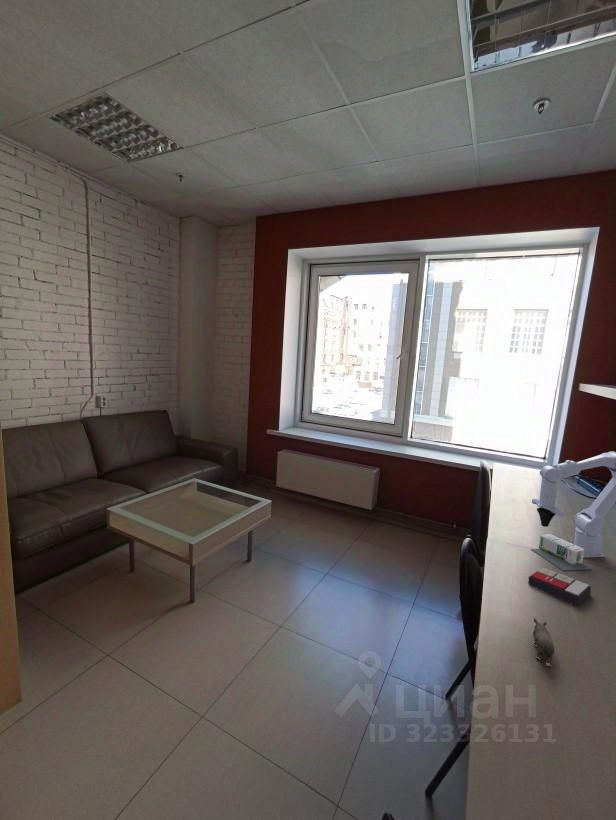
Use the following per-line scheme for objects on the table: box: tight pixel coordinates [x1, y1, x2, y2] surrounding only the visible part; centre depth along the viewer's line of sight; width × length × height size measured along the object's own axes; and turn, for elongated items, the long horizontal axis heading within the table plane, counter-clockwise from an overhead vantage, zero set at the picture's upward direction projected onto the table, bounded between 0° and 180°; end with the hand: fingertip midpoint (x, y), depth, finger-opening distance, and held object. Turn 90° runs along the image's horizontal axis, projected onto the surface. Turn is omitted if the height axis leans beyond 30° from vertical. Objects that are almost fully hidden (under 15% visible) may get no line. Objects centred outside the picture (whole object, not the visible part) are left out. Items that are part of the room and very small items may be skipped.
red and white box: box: [527, 567, 592, 607], centre depth 124 cm, size 11×4×15 cm
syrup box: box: [538, 533, 584, 565], centre depth 147 cm, size 6×6×14 cm
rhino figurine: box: [532, 618, 555, 664], centre depth 97 cm, size 4×14×6 cm, turn 155°
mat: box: [531, 548, 592, 572], centre depth 145 cm, size 12×16×1 cm
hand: (544, 525), depth 153 cm, fingers closed
